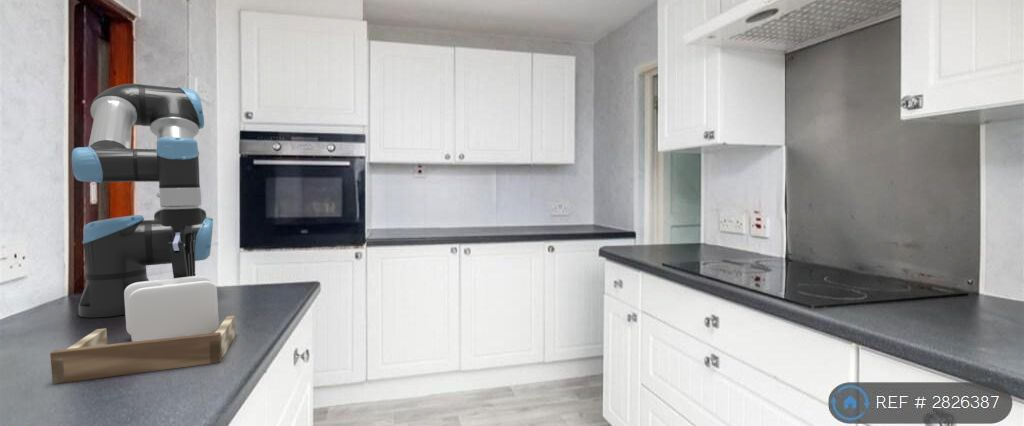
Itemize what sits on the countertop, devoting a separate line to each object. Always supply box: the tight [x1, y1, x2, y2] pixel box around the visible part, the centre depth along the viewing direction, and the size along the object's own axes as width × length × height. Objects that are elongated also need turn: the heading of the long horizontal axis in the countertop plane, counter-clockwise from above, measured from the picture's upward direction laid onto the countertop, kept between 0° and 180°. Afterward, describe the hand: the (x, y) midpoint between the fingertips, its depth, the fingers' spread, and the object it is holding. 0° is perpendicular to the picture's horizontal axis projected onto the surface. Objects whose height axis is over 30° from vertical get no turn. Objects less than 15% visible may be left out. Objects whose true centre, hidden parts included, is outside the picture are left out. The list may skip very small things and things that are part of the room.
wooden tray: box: [50, 315, 237, 385], centre depth 87 cm, size 16×23×5 cm
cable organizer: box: [124, 275, 220, 342], centre depth 97 cm, size 15×11×12 cm
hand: (186, 312), depth 106 cm, fingers closed
